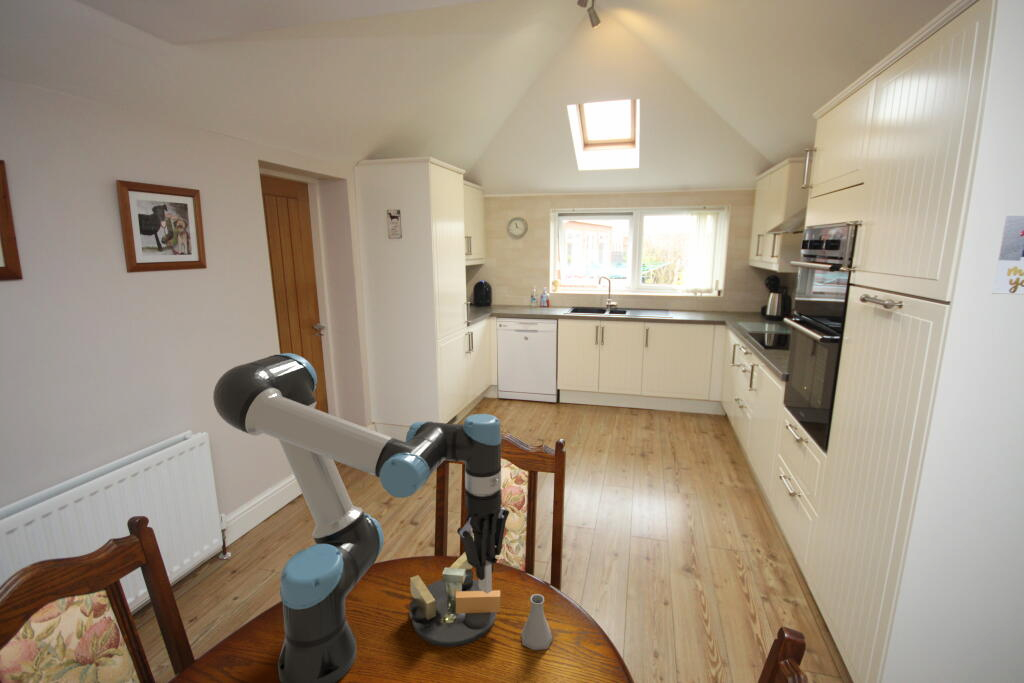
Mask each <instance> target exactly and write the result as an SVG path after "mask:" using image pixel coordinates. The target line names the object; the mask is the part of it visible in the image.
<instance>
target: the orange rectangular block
mask: <svg viewBox="0 0 1024 683" xmlns="http://www.w3.org/2000/svg"><path fill="white" fill-rule="evenodd" d="M491 612H496V613H501V590H500V589H499V590H498V589H495V590H492V591H490V592H489V593H487V594H486V593H485V592H484V591H460V592H456V614H458V613H465V622H466V624H467V625H468V626H469V627H471V628H473V629H482V628H485V627H486V626H488V625H489V624H490V622H491Z"/></svg>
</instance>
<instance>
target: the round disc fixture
mask: <svg viewBox="0 0 1024 683" xmlns="http://www.w3.org/2000/svg"><path fill="white" fill-rule="evenodd" d="M472 568H474V567H473V566H472V565H470V564H469V563H468V561H467V557H466V553H465V551H464V552H463V553H462V554H461V555H460V556H459V557H458V558H457V559H456V561H454V562H453V563H452V564H451V565H450V567H447V566H446V567H444V569H443V571H442V574H441V576H442V577H441V579H439V580H437V581H434V582H432V583H430V584H428V585H427V586H426V584H425V583H424V581H423V580H422V578H421V577H420V576H419V575H418V574H417V575H414V576H412V577H409V579H410V584H409V585H410V594H411V595H412V596H411V597H413V599H412V600H411V601H410V602H409V618H410V620H411V623H412V627H413V630H414V632H415V633H416V635H418V636H419V637H420V638H421V639H422V640H423V641H425V642H427V643H429V644H432V645H434V646H438V647H445V648H454V647H463V646H465V645H469V644H471V643H474V642H476V641H478V640H479V639H481V638H483V637H484V636H485V635H486V634H487V633H488V632H489V631H490V630H491V628H492V626H494V623H495V621H496V618H497V612H491V622H490V624H489V625H488V626H486V627H485V628H482V629H473V628H471V627H469V626H468V625H467V624H466V622H465V613H458V614H456V592H460V591H482V590H481V589H480V588H479V586H478V580H476V579H474V572H473V569H472Z"/></svg>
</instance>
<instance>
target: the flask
mask: <svg viewBox="0 0 1024 683" xmlns="http://www.w3.org/2000/svg"><path fill="white" fill-rule="evenodd" d="M529 600H530V610H529V614H528V617H527V619H526V622H525V624H524V626H523V628H522V630H521V633H520V636H521V637H520V638H521V643H522V646H524V647H526V648H529V649H530V650H533V651H541V650H548V648H549V647H550V645H551V643H552V642H553V641H554V639H553V635H552V632H551V629H550V626H549V624H548V620H547V618H546V615H545V613H544V603H545V597H544V595H542V594H540V593H535V594H532V595H531V596H530V598H529Z"/></svg>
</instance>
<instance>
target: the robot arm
mask: <svg viewBox="0 0 1024 683" xmlns="http://www.w3.org/2000/svg"><path fill="white" fill-rule="evenodd" d="M317 384H318V377H317V372H316V370H315V368H314V366H313V365H312V364H311V363H310V362H309V361H308V360H307V359H305V358H304V357H303V356H300V355H298V354H296V353H291V352H285V353H278V354H274V355H270V356H267V357H264V358H260V359H257V360H254V361H250V362H247V363H243V364H239V365H236V366H233V368H230V369H228V370H227V371H226V372H225V373H224V374H222V376H220V378H219V379H218V381H217V383H216V384H215V386H214V390H213V397H212V398H213V403H214V404H213V405H214V407H215V409H216V411H217V414H218V415H219V416H220V417H221V419H222V420H224V422H226V424H228V425H230V426H231V427H232V428H235V429H237V430H239V431H241V432H243V433H246V434H249V435H251V436H261V435H263V434H265V435H267V436H270V437H272V438H276V439H277V440H278V441H279V443H280V445H281V448H282V450H283V453H284V455H285V457H286V459H287V461H288V464H289V466H290V468H291V470H292V473H293V476H294V477H295V480H296V482H297V484H298V486H299V489H300V491H301V493H302V495H303V498H304V499H305V500H304V501H305V502H306V504H307V507H308V509H309V512H310V514H311V516H312V519H313V521H314V523H315V526H314V529H313V531H312V534H311V535H312V537H313V540H314V542H315V544H313V545H310V546H308V548H306V549H305V548H303V549H300V550H299V551H297V552H296V553H295V554H294V555H292V556H291V557H290V558H289V559H288V561H287V562H286V563H285V565H284V567H283V568H282V571H281V574H280V586H279V594H280V598H281V608H282V617H283V618H282V619H283V627H284V628H283V629H284V635H285V636H284V640H283V644H282V648H281V651H280V654H279V658H278V662H277V670H278V678H279V681H280V683H337V682H339V681H340V680H341V679H342V678H344V676H345V675H346V674H348V673H349V671H350V670H351V668H352V666H353V665H354V663H355V661H356V658H357V642H356V641H357V640H356V636H355V634H354V632H353V631H352V629H351V626H350V625H349V622H348V621H347V619H346V618H347V616H346V615H347V614H346V598H347V596H348V595H349V593H351V591H352V590H353V589H354V588H355V587H356V585H357V584H358V583H359V581H360V580H361V579H362V578H363V576H364V575H365V574H366V572H367V571H369V569H370V568H372V566H374V564H375V563H376V561H377V559H378V557H379V556H380V554H381V552H382V550H383V548H384V542H385V541H384V540H385V538H384V537H385V536H384V531H383V528H382V526H381V524H380V522H379V521H378V520H377V519H376V517H372V515H370V513H365V512H364V511H363V508H362V507H359V506H355V505H354V504H353V502H352V499H351V498H350V495H349V494H348V493H349V492H348V491H347V488H346V486H345V484H344V481H343V480H342V477H341V475H340V472H339V469H338V468H337V465H336V463H335V462H338V463H339V464H343V465H344V466H347V467H351V468H354V469H357V470H359V471H361V472H364V473H366V474H369V475H372V476H374V477H376V478H379V481H380V484H381V487H382V488H383V489H384V490H385V491H386V492H387V493H388V494H389V495H390V496H391V497H395V498H399V499H404V498H409V497H411V496H413V495H414V494H415V493H416V492H417V491H418V490H420V489H421V488H423V486H425V484H426V483H427V481H428V480H429V478H431V475H433V473H434V472H435V471H436V470H437V469H438V468H439V466H441V464H442V463H443V462H444V461H449V462H463V463H464V476H465V477H464V484H465V485H464V487H465V507H466V510H467V516H466V520H465V521H466V523H465V524H464V526H463V527H458V528H457V531H456V532H457V534H458V535H459V536H460V537H461V542H462V545H463V549H464V552H465V553H466V557H467V561H468V563H469V564H470V565H472V566H473V567H472V568H474V569H475V573H476V574H475V576H476V578H477V579H478V580H477V581H478V586H479V588H480V589H481V590H482V591H484V592H485V593H486V594H487V593H489V592H490V591H493V584H492V583H493V578H492V577H493V576H492V575H493V573H494V564H497V562H498V558H496V556H500V555H501V553H502V546H503V543H504V542H503V541H504V534H505V528H506V523H507V520H508V518H509V514H510V510H508V509H506V508H504V507H502V503H503V502H502V501H503V500H502V493H503V492H502V440H503V439H502V434H501V433H502V432H501V422H500V419H499V418H498V417H496V416H495V415H492V414H489V413H480V414H477V413H475V414H471V415H469V416H467V417H466V418H465V419H464V420H463V423H462V424H457V423H456V424H455V423H445V422H437V421H436V422H434V421H416V422H413V423H412V424H411V425H409V426H410V427H409V430H407V432H406V437H405V441H403V440H400V439H398V438H394V437H391V436H389V435H386V434H384V433H381V432H378V431H375V430H373V429H370V428H368V427H365V426H362V425H360V424H356V423H354V422H351V421H349V420H346V419H343V418H341V417H338V416H335V415H332V414H331V413H328V412H324V411H322V410H320V409H316V408H315V407H316V405H317V403H318V402H317V400H316V398H315V396H314V395H315V394H314V392H315V390H316V388H317Z"/></svg>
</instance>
